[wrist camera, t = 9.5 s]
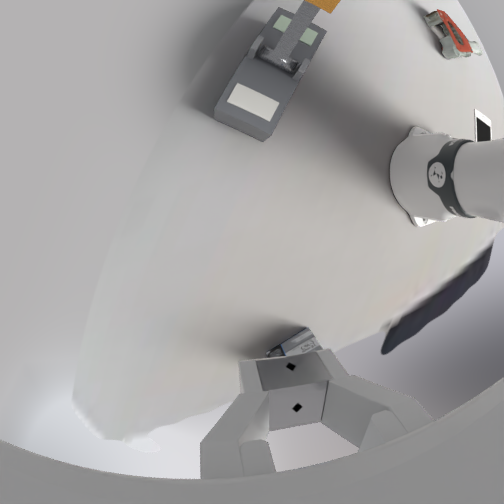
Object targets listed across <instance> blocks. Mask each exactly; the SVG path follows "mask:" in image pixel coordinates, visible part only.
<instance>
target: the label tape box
mask: <svg viewBox="0 0 504 504" xmlns="http://www.w3.org/2000/svg"><path fill="white" fill-rule="evenodd" d="M318 350H323V348H322V346H321V345H320V343H319V342H318V340H317V339H316V338H315V336H314V335H313V333H312V332H311V330H310V329H309V328H306V329H304V330H303V331H301V332H300V333H298V334H296V335H295V336H293V337H292V338H290V339H288V340H287V341H285V342H284V343H282V344H280V345H279V346H277V347H275V348H273V349H272V350H270V351H268V352H266V354H267V357H268V358H271V357H281V356H291V355H297V354H304V353H310V352H314V351H318Z"/></svg>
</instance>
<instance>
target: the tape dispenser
mask: <svg viewBox="0 0 504 504" xmlns="http://www.w3.org/2000/svg"><path fill="white" fill-rule="evenodd" d="M423 17H424V19H425V21H426V23H427V25H428V26H429V27H435V26H440V25H441V26H442V27H443V32H444V33H445V34H446V37H444V38H442V39H441V40H440V42H441V44H442V46H443V47H442V54H443V55H444V56H445V58H446V59H452V58H459V57H469V56H471V53H476V54H477V55H482V50H481V48H480V46H479V45H478V43H477V42H475V41H473V42H471V41H468V40H467V38H466V37H465V35H464V34H463V33H462V31H461V30H460V29H459V28H458V26H457V25H456V24H455V23H454V22H453V21H452V20H451V18H450V17H449V16H448V15H447V14H446V13H445V12H444V11H441V10H438V9H437V11H434V12H432V13H430V14H427V15H426V16H425V15H424V16H423Z"/></svg>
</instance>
